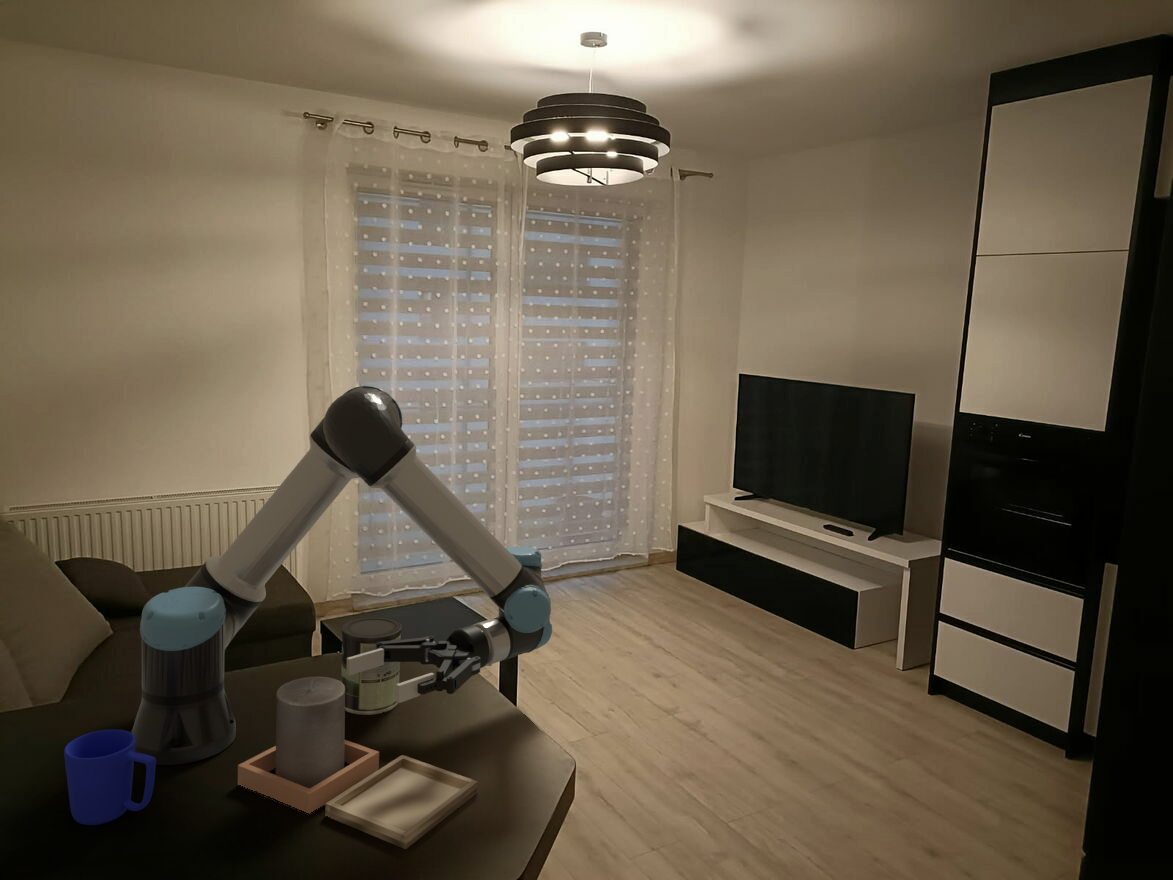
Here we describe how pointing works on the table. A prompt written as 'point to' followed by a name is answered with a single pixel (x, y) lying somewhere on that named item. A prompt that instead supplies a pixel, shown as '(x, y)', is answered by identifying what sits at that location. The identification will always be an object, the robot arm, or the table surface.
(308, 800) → the holder
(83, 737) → the mug
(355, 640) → the coffee can
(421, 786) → the tray
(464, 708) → the table surface
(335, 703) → the pillar candle
